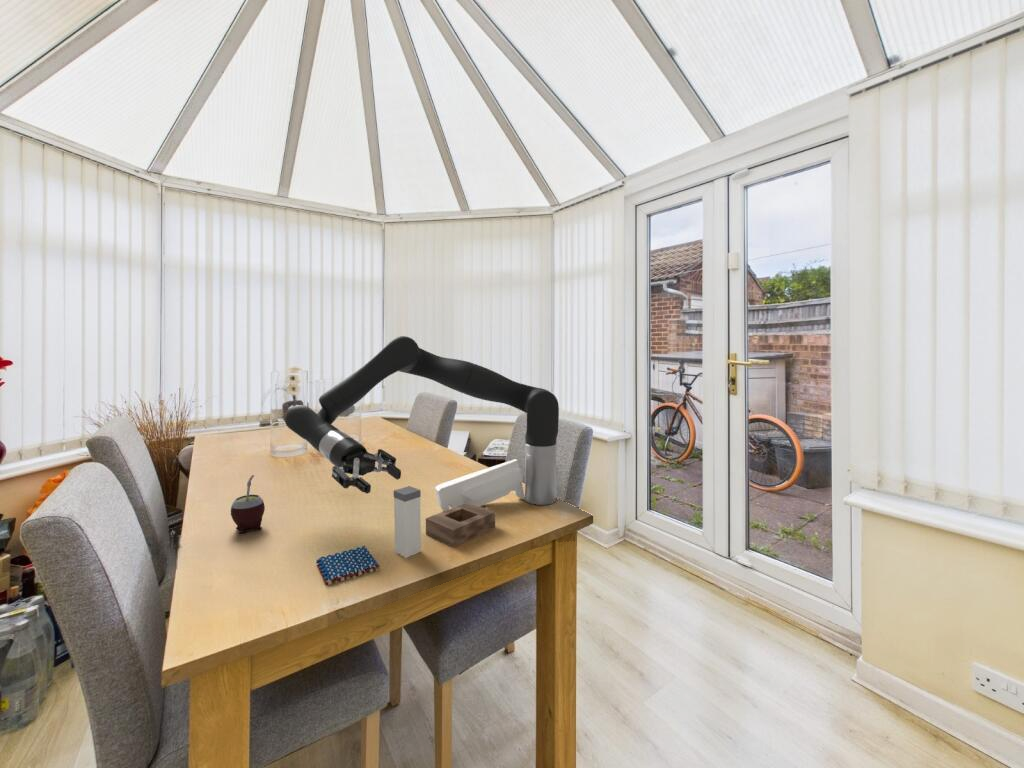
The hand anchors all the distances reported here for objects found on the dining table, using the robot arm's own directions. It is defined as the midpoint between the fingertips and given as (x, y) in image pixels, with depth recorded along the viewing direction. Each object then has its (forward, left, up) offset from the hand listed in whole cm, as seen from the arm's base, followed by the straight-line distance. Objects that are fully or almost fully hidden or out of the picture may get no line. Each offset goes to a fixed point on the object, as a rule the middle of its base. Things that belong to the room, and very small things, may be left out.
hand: (385, 482), depth 95 cm
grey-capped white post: (-1, +7, -14) cm, 16 cm away
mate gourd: (+18, -32, -15) cm, 39 cm away
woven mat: (+11, +3, -15) cm, 19 cm away
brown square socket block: (-16, +8, -14) cm, 23 cm away
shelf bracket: (-31, 0, -15) cm, 35 cm away
